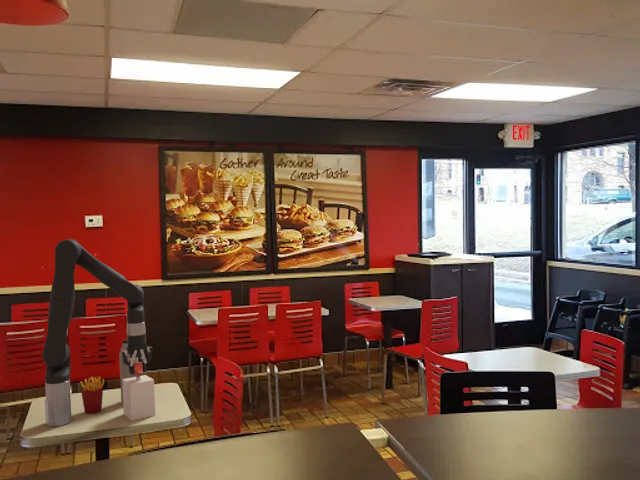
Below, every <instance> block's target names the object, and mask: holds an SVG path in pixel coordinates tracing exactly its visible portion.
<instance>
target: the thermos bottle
mask: <svg viewBox="0 0 640 480" xmlns="http://www.w3.org/2000/svg"><path fill="white" fill-rule="evenodd" d="M121 343H122V347H121V348H120V352H121V351H125V350H126V349H127V339H124V340H122V341H121ZM120 352H119V377H120V382H119V383H120V400H121V401H120V402H121V404H122V405H123V383H122V379H126V378H132V377H136V374H133V375H131V374H130V373H129V366H128V365H125V364H124V362H123V360H122V357H121V354H120ZM129 357H130V354H129V353H128V352H127V355H126V358H127V360H128V362H129ZM135 362H139V357H136V358H135V360H134V362H133V363H135Z"/></svg>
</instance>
